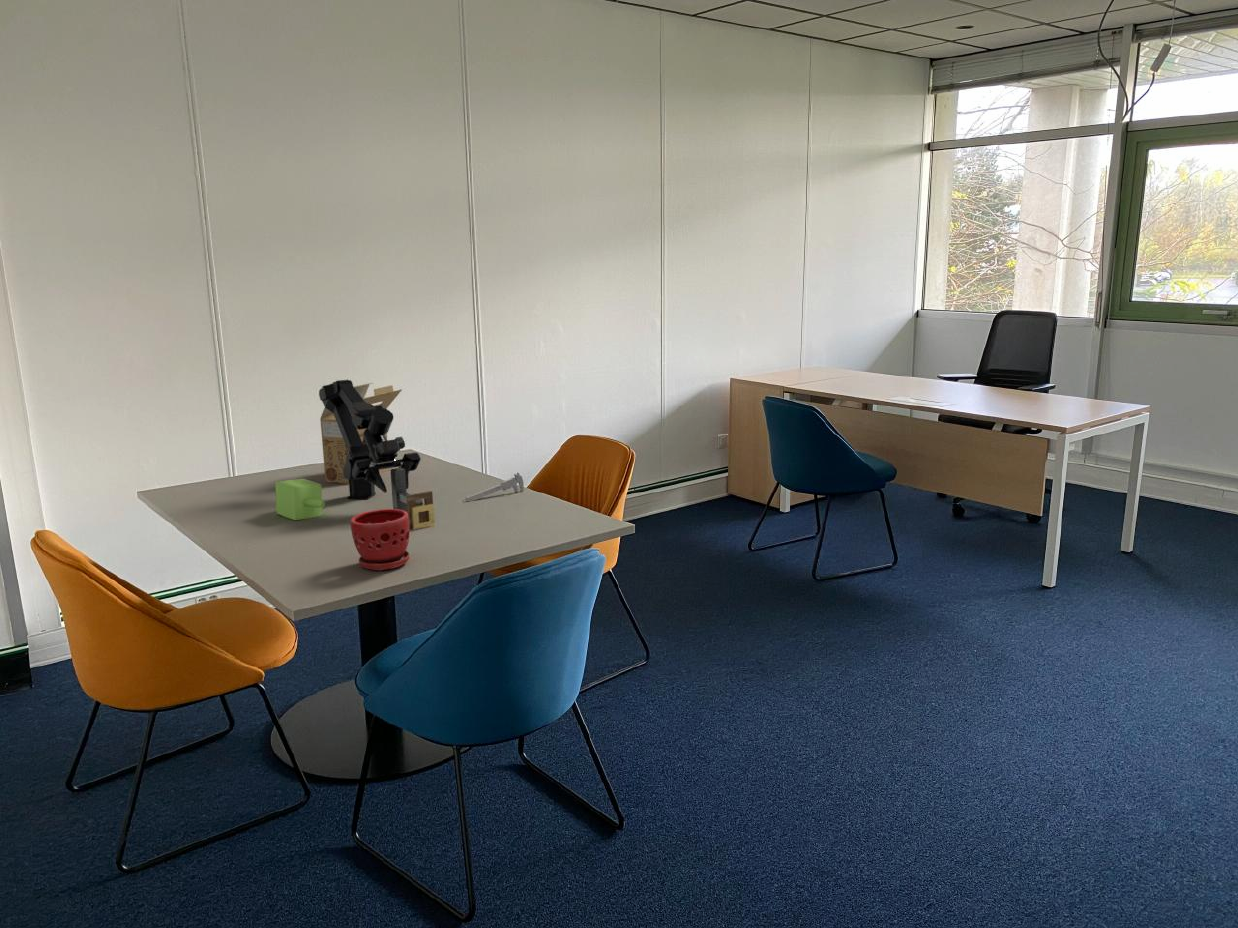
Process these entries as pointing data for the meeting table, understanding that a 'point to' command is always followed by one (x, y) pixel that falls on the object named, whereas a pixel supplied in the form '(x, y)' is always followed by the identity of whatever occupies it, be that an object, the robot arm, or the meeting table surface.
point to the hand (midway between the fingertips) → (396, 490)
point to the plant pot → (381, 538)
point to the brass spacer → (415, 516)
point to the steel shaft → (400, 489)
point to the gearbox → (299, 499)
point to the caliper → (499, 488)
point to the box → (333, 438)
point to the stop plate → (411, 502)
